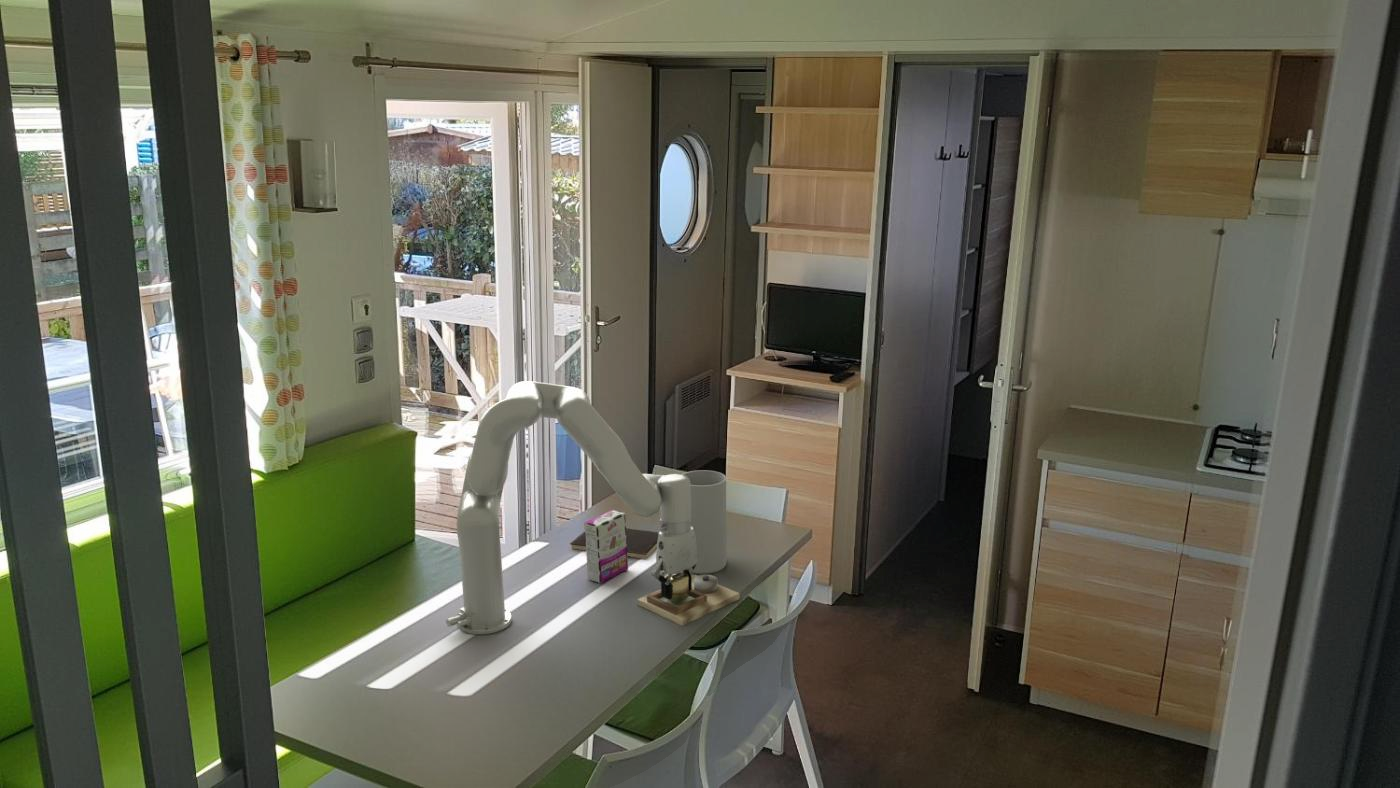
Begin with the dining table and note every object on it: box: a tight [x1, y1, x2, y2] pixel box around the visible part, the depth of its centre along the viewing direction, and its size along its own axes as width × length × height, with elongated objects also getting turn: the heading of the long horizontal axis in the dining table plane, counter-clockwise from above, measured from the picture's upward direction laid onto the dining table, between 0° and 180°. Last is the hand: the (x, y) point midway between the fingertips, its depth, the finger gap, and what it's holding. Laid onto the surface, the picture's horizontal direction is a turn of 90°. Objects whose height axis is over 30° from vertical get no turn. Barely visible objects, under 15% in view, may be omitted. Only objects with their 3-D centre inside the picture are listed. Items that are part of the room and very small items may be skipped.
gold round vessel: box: [665, 571, 689, 601], centre depth 254 cm, size 6×6×6 cm
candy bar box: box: [584, 509, 629, 584], centre depth 272 cm, size 11×5×16 cm, turn 143°
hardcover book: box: [569, 527, 660, 560], centre depth 294 cm, size 16×23×2 cm
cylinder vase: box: [681, 469, 728, 575], centre depth 276 cm, size 12×12×25 cm
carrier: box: [637, 574, 740, 626], centre depth 257 cm, size 20×16×5 cm
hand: (676, 592), depth 254 cm, fingers closed on gold round vessel, 6 cm apart
